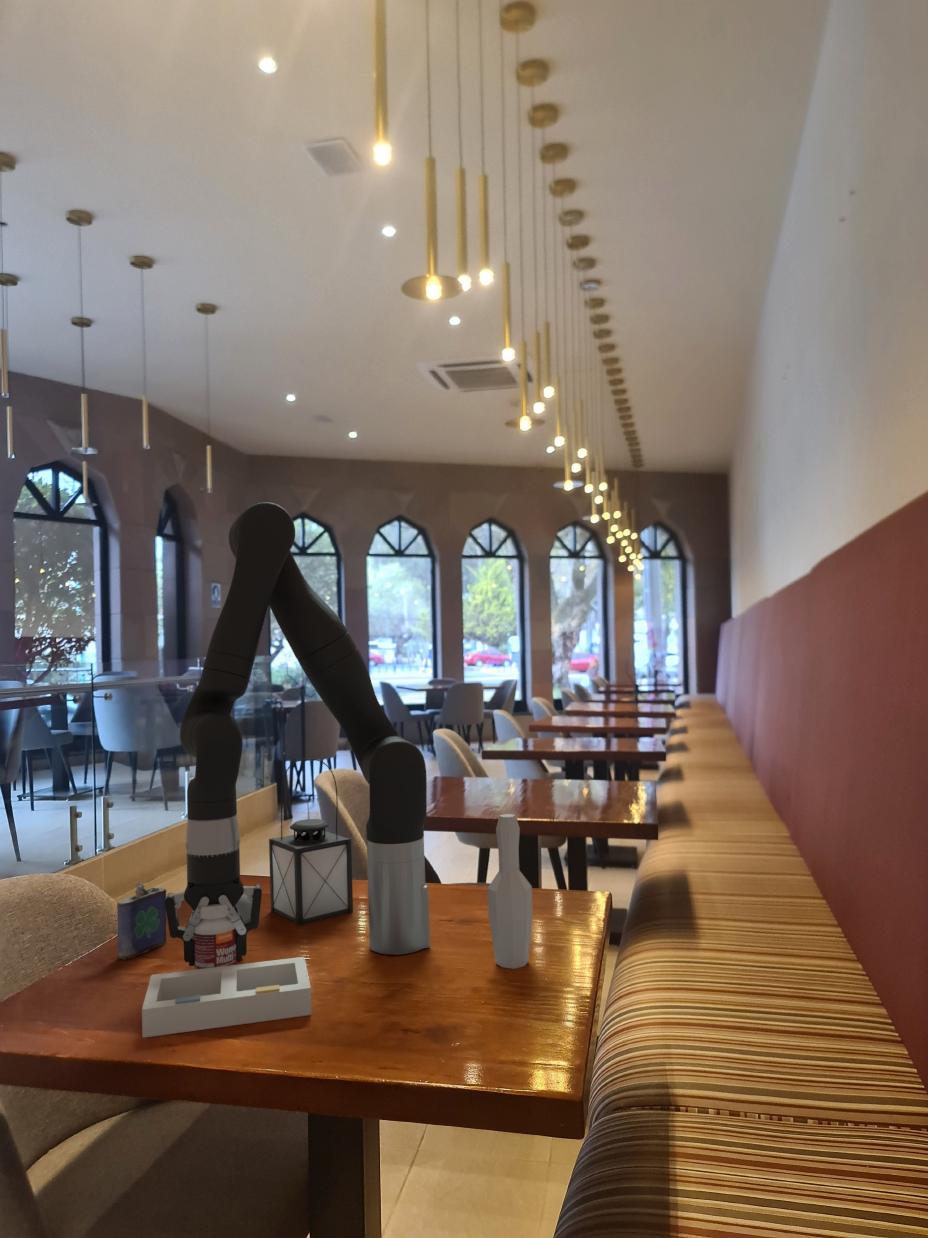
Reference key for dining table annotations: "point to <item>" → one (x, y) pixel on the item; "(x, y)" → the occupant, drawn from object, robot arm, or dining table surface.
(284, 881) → the lantern
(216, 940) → the pill bottle
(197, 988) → the socket block
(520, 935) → the faceted bottle
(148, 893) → the flask
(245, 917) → the light bulb
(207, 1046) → the dining table surface
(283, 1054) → the dining table surface
